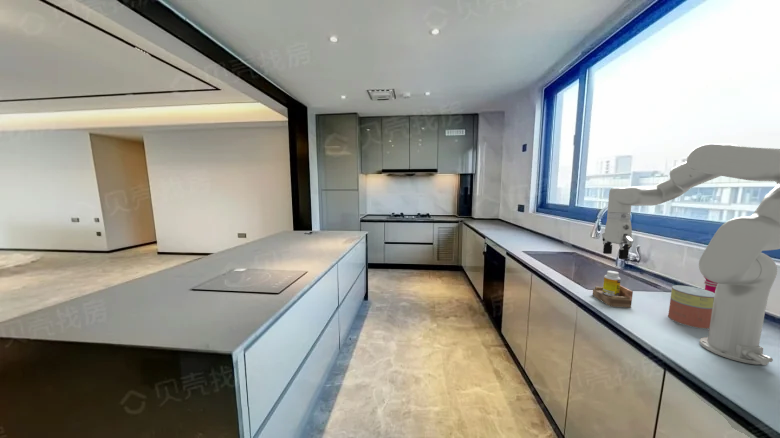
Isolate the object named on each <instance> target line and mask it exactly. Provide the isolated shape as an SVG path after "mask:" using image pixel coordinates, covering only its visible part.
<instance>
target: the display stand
mask: <svg viewBox="0 0 780 438" xmlns="http://www.w3.org/2000/svg"><path fill="white" fill-rule="evenodd" d="M633 293H634V291H633V290H632V289H629V288H627V287H625V286H623V285H621V284H620V289H619V296H608V295H605V294H604V293H603V286H595V287H594V288H593V290H592V296H593V297H594V298H596V299H598V300H599V301H601V302H602V301H603V303H604V304H606V305H608V306H609V307H614V308H615V307H616V308H617V307H618V308H632V304H633V303H632V301H633Z"/></svg>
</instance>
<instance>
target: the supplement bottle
mask: <svg viewBox="0 0 780 438" xmlns="http://www.w3.org/2000/svg"><path fill="white" fill-rule="evenodd" d="M620 285H621V277H620V273H619V272H618V271H614V270H607V271H606V274H605V275H604V276H603V286H602V287H603V293H604V294H605V295H608V296H619V289H620Z"/></svg>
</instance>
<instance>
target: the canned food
mask: <svg viewBox="0 0 780 438" xmlns="http://www.w3.org/2000/svg"><path fill="white" fill-rule="evenodd" d="M670 292H671V293H670V300H669V307H668V313H667V318H668V319H670V321H672V322H675V323H677V324H680V325H682V326H686V327H690V328H695V329H699V330H700V329H701V330H709V327H710V321H711V314H712V308H713V301H714V295H715V293H713V292H711V291H708V290H705V288H701V287H696V286H691V285H690V286H689V285H684V284H683V285H682V284H681V285H680V284H675V285H674V284H673V285H671V291H670Z"/></svg>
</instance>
